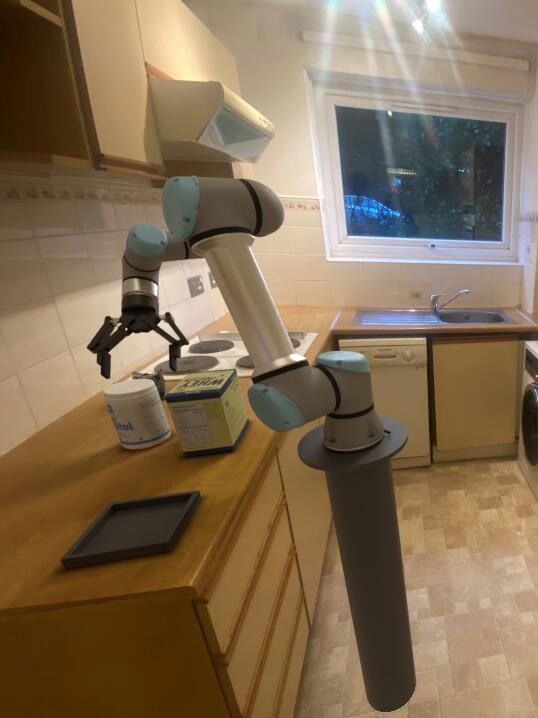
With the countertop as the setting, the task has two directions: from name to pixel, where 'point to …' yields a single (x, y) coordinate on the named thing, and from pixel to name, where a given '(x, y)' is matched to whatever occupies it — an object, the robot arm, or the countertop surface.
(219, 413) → the protein box
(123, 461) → the countertop surface
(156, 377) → the grey furry lump
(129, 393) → the supplement tub
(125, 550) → the pad
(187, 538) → the countertop surface
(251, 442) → the countertop surface
